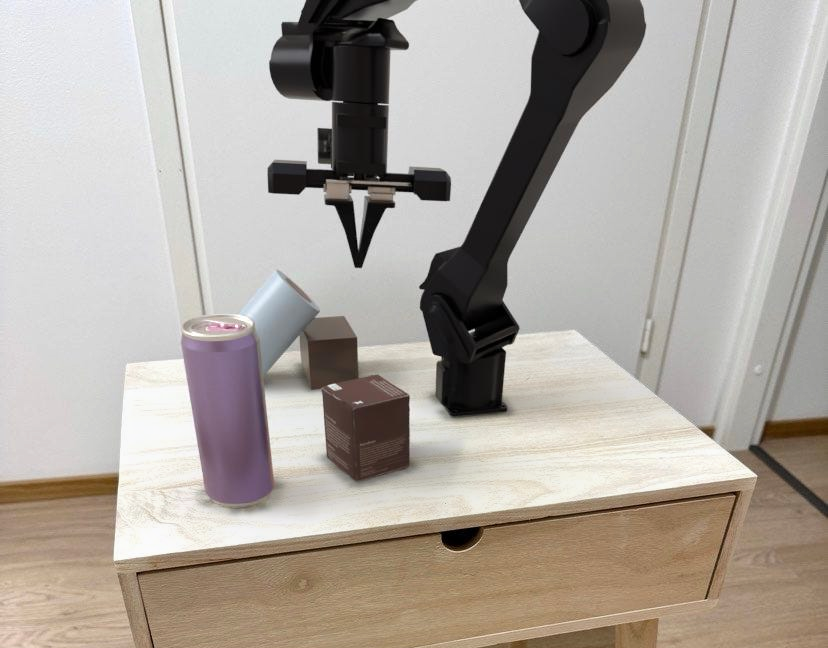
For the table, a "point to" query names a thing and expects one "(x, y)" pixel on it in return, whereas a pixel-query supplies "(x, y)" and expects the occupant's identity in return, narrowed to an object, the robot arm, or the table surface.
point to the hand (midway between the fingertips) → (358, 267)
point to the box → (367, 426)
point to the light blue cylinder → (279, 316)
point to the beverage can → (228, 407)
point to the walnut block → (329, 351)
